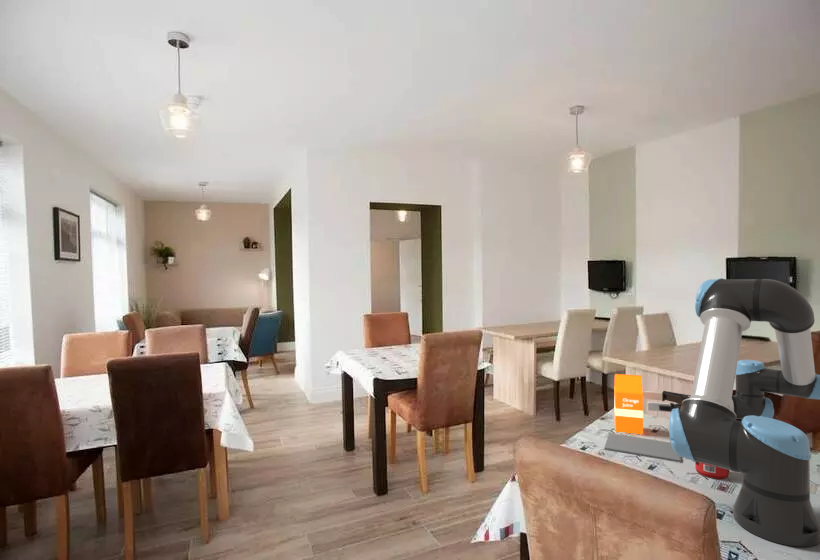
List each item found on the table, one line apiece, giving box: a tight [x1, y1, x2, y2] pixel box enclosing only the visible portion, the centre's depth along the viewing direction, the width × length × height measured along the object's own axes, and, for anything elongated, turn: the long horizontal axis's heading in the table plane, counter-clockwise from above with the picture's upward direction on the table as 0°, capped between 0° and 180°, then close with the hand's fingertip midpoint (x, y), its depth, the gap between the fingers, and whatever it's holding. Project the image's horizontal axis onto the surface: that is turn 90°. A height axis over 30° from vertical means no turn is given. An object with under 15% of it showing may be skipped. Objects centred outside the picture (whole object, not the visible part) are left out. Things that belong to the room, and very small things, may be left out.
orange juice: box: [613, 373, 644, 435], centre depth 160 cm, size 8×9×20 cm
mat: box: [604, 433, 682, 463], centre depth 145 cm, size 14×21×1 cm, turn 60°
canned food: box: [694, 462, 730, 480], centre depth 126 cm, size 8×8×11 cm
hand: (644, 400), depth 158 cm, fingers open, 13 cm apart
